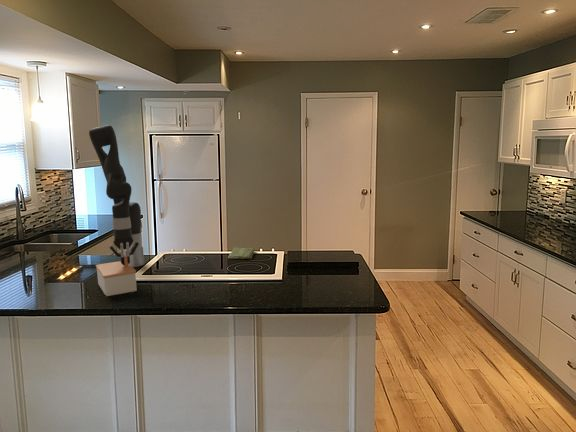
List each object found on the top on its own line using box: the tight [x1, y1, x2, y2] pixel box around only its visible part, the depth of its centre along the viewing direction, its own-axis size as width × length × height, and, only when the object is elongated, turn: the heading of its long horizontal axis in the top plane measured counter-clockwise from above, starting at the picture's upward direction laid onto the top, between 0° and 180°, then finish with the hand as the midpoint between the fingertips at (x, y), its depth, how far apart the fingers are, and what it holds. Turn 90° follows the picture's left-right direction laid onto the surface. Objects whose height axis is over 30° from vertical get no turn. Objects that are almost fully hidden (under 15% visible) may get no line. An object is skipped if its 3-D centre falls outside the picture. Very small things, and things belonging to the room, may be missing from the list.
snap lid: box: [95, 253, 137, 278], centre depth 220 cm, size 14×21×7 cm, turn 30°
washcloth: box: [227, 247, 255, 260], centre depth 271 cm, size 13×18×3 cm
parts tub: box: [96, 268, 138, 297], centre depth 221 cm, size 13×20×8 cm, turn 30°
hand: (125, 264), depth 223 cm, fingers closed on snap lid, 1 cm apart
